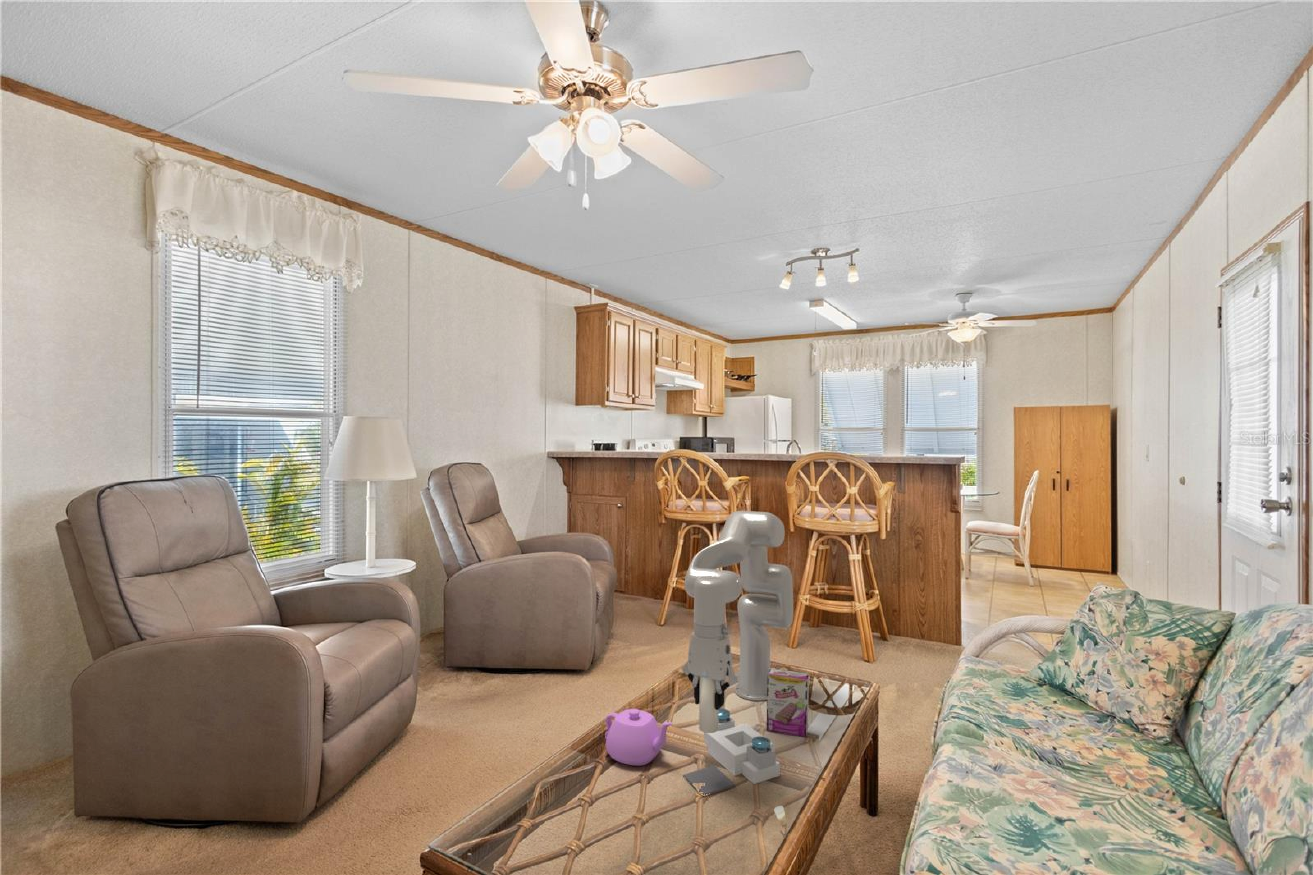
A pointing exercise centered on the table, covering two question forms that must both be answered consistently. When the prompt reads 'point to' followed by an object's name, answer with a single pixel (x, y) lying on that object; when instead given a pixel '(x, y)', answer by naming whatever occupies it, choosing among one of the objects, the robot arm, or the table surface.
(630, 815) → the table surface
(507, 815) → the table surface
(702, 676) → the cylinder
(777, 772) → the housing
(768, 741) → the plunger
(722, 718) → the plunger
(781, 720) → the candy bar box
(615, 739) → the teapot
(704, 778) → the mat
